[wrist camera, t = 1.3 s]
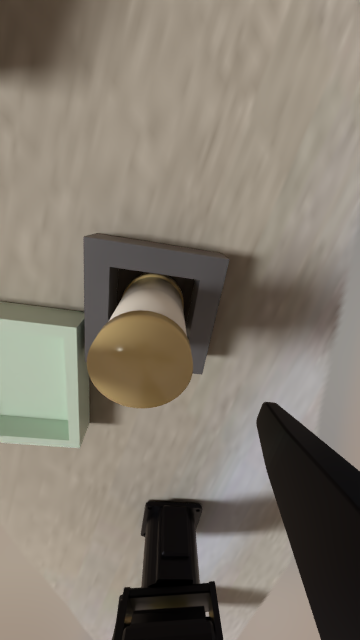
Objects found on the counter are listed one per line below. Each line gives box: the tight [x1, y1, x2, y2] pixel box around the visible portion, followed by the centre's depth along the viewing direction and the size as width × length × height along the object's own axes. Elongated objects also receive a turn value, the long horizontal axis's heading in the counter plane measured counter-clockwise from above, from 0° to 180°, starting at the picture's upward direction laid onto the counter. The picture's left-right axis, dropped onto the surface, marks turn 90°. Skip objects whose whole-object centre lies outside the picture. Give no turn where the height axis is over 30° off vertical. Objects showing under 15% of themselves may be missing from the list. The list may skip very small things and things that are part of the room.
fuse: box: [87, 272, 193, 408], centre depth 13 cm, size 4×4×8 cm
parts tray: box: [0, 301, 90, 448], centre depth 17 cm, size 11×10×2 cm
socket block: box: [84, 233, 230, 374], centre depth 15 cm, size 8×8×2 cm
